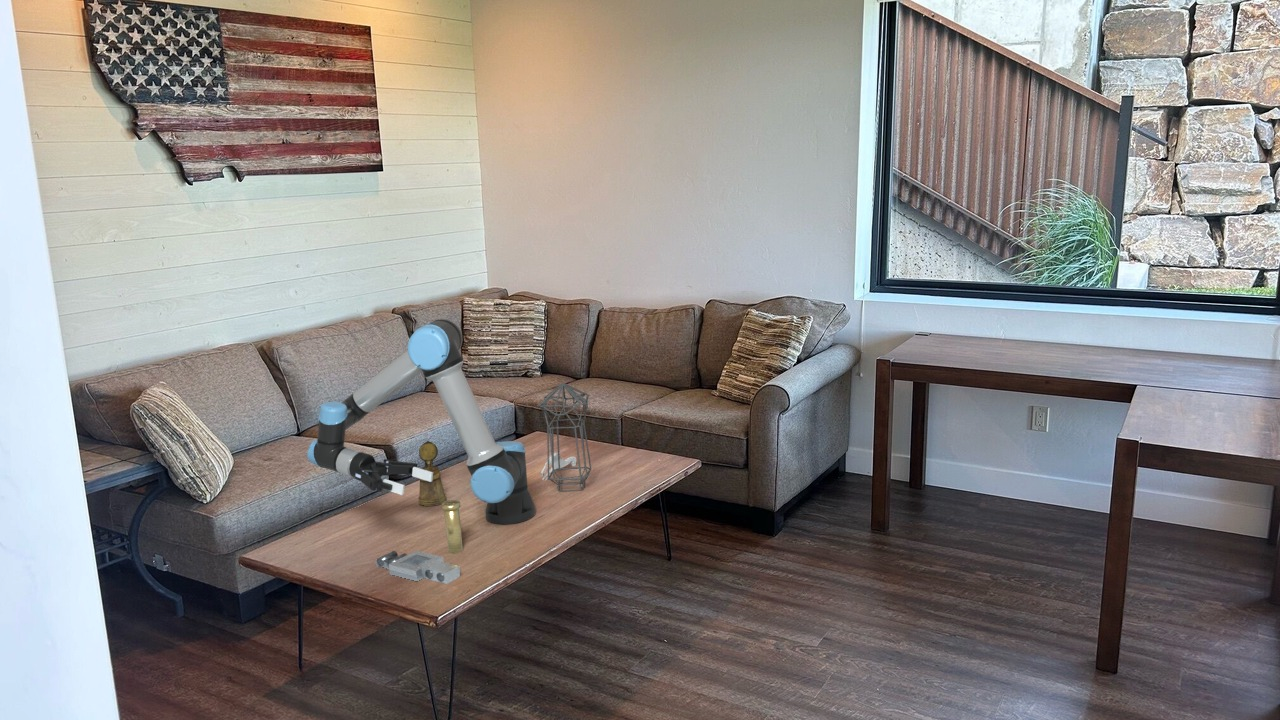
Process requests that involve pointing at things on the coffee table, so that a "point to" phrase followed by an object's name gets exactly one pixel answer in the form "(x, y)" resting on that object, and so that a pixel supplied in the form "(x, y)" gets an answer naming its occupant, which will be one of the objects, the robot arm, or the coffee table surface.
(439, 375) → the robot arm
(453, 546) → the pin
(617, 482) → the coffee table surface
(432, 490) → the brass bell
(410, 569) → the grey link plate
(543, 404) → the geometric lantern
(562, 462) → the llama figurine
